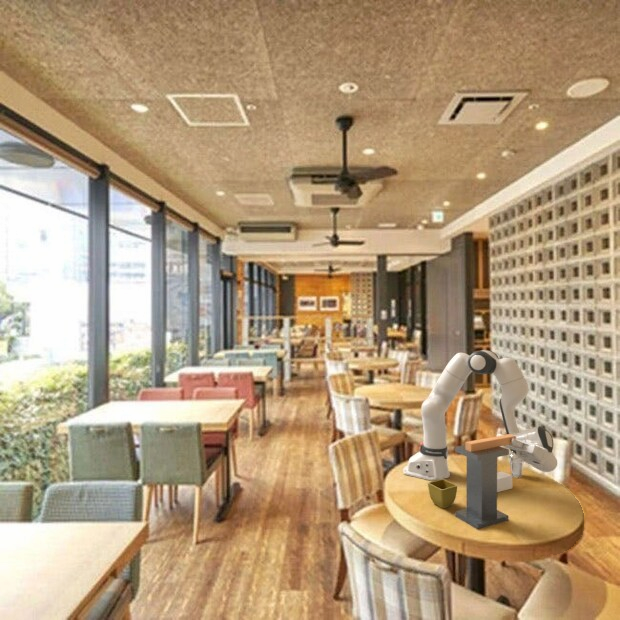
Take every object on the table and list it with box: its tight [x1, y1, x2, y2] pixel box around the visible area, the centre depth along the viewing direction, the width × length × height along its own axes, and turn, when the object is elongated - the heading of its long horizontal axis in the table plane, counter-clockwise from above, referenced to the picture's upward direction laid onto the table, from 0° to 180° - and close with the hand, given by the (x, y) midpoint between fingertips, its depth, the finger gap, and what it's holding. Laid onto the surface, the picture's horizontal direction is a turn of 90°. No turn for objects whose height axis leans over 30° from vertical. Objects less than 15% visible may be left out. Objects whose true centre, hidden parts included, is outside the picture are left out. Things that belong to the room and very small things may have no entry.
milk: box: [497, 471, 513, 493], centre depth 213 cm, size 6×6×22 cm
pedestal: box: [454, 444, 510, 530], centre depth 185 cm, size 16×12×28 cm
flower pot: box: [427, 479, 458, 509], centre depth 198 cm, size 9×9×9 cm
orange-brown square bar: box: [464, 434, 516, 452], centre depth 187 cm, size 24×3×3 cm, turn 115°
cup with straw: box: [506, 449, 524, 478], centre depth 230 cm, size 8×9×20 cm
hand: (507, 438), depth 191 cm, fingers closed on orange-brown square bar, 3 cm apart
